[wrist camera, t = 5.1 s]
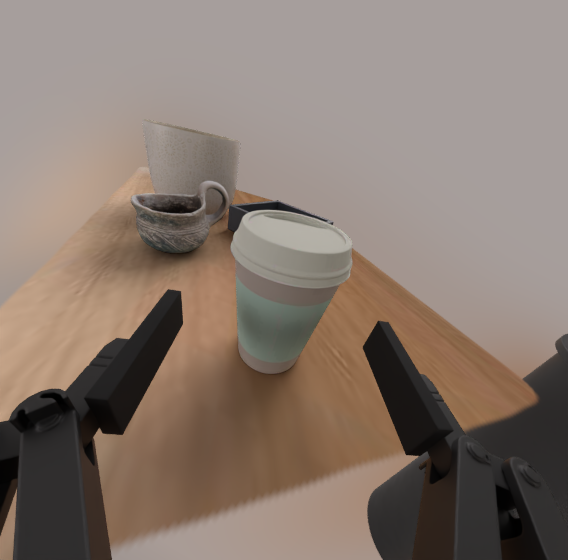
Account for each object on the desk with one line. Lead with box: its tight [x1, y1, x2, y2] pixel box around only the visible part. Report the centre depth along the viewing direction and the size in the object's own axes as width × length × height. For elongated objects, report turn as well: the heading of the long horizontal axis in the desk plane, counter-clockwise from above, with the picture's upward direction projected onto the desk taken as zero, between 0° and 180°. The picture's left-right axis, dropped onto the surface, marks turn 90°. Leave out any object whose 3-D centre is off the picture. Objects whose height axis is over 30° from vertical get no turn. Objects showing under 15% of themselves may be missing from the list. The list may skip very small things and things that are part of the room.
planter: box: [142, 120, 240, 215], centre depth 45 cm, size 17×17×15 cm
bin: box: [228, 200, 333, 232], centre depth 45 cm, size 16×16×5 cm
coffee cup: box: [231, 210, 352, 374], centre depth 17 cm, size 8×8×12 cm
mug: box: [131, 181, 229, 253], centre depth 31 cm, size 10×12×10 cm
